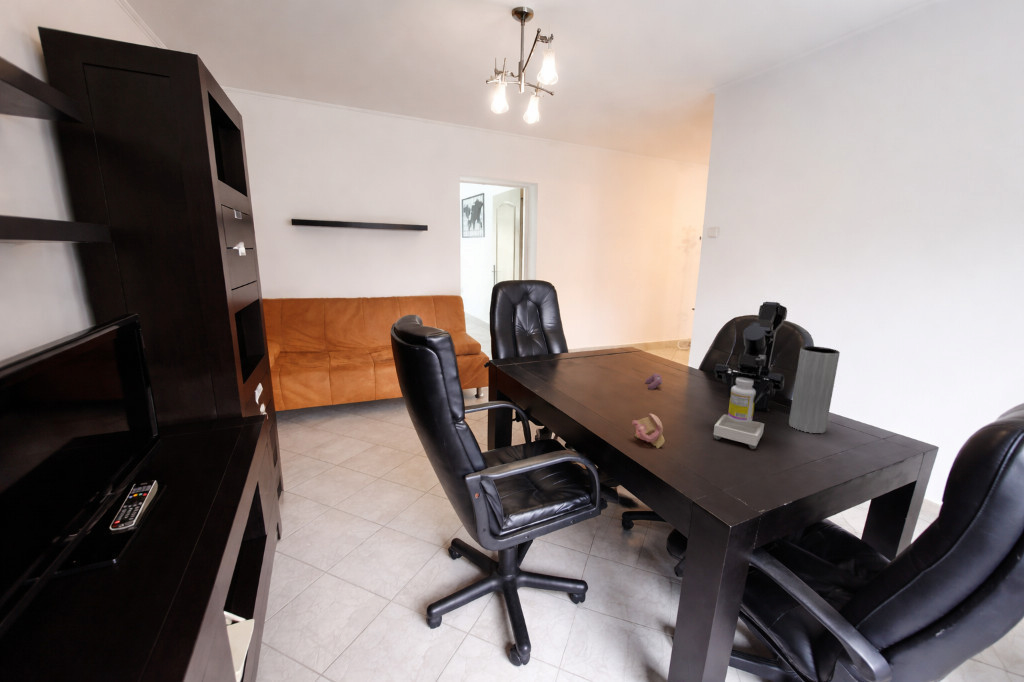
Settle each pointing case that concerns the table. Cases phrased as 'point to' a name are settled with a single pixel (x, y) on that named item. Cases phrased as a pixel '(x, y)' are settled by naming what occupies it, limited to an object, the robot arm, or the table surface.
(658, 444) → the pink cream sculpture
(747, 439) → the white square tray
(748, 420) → the supplement bottle
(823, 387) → the vase
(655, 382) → the purple lumpy piece
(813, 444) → the table surface
